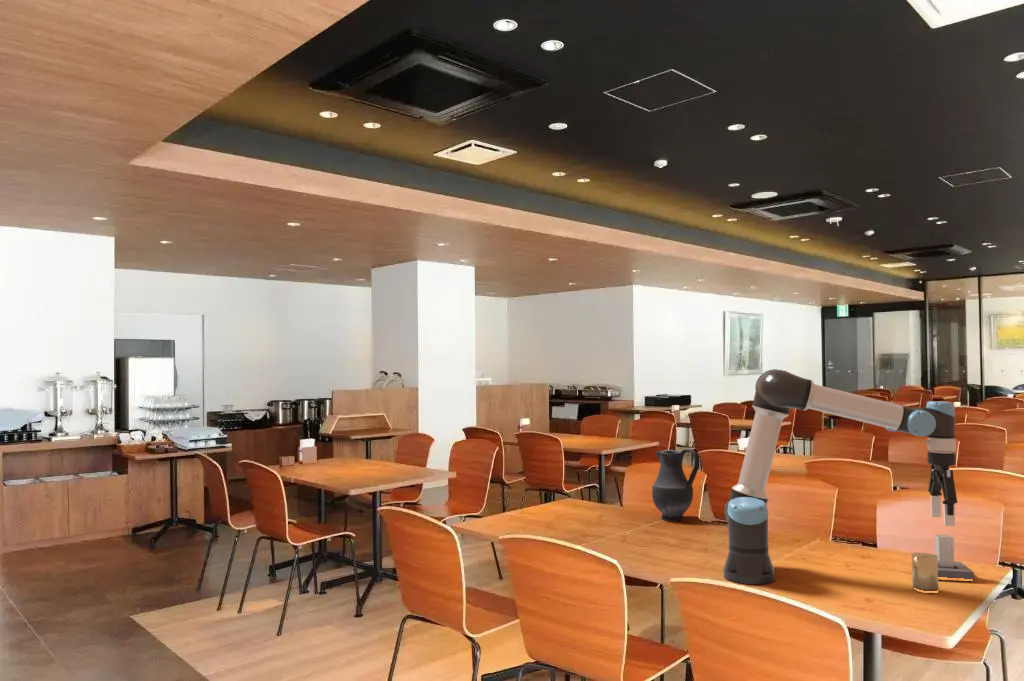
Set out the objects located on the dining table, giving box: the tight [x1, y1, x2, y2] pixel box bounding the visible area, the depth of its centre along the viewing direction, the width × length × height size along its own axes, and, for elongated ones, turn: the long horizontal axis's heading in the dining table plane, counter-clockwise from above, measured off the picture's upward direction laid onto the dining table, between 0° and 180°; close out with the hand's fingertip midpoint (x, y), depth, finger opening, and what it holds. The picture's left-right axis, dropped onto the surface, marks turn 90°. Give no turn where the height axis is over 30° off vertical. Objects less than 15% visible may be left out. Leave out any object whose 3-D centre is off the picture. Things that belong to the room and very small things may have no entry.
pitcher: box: [651, 448, 700, 522], centre depth 319 cm, size 17×21×30 cm
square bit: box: [934, 534, 955, 569], centre depth 230 cm, size 4×4×12 cm
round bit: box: [911, 552, 940, 591], centre depth 215 cm, size 6×6×10 cm
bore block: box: [938, 561, 975, 580], centre depth 229 cm, size 12×12×3 cm
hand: (942, 521), depth 230 cm, fingers open, 13 cm apart
